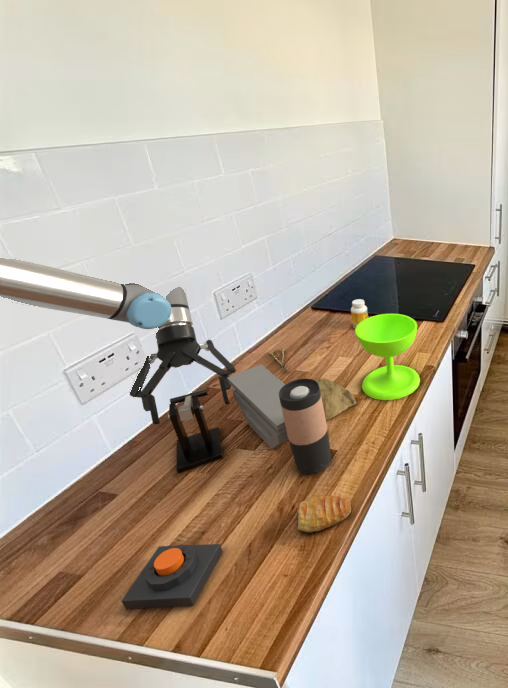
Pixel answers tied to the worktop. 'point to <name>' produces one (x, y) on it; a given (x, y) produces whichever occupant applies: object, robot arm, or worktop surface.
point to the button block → (174, 579)
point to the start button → (169, 562)
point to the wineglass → (388, 355)
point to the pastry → (322, 512)
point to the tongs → (278, 360)
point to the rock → (334, 398)
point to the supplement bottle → (358, 312)
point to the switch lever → (187, 404)
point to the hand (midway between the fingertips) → (192, 413)
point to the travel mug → (306, 425)
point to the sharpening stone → (261, 403)
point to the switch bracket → (195, 440)
